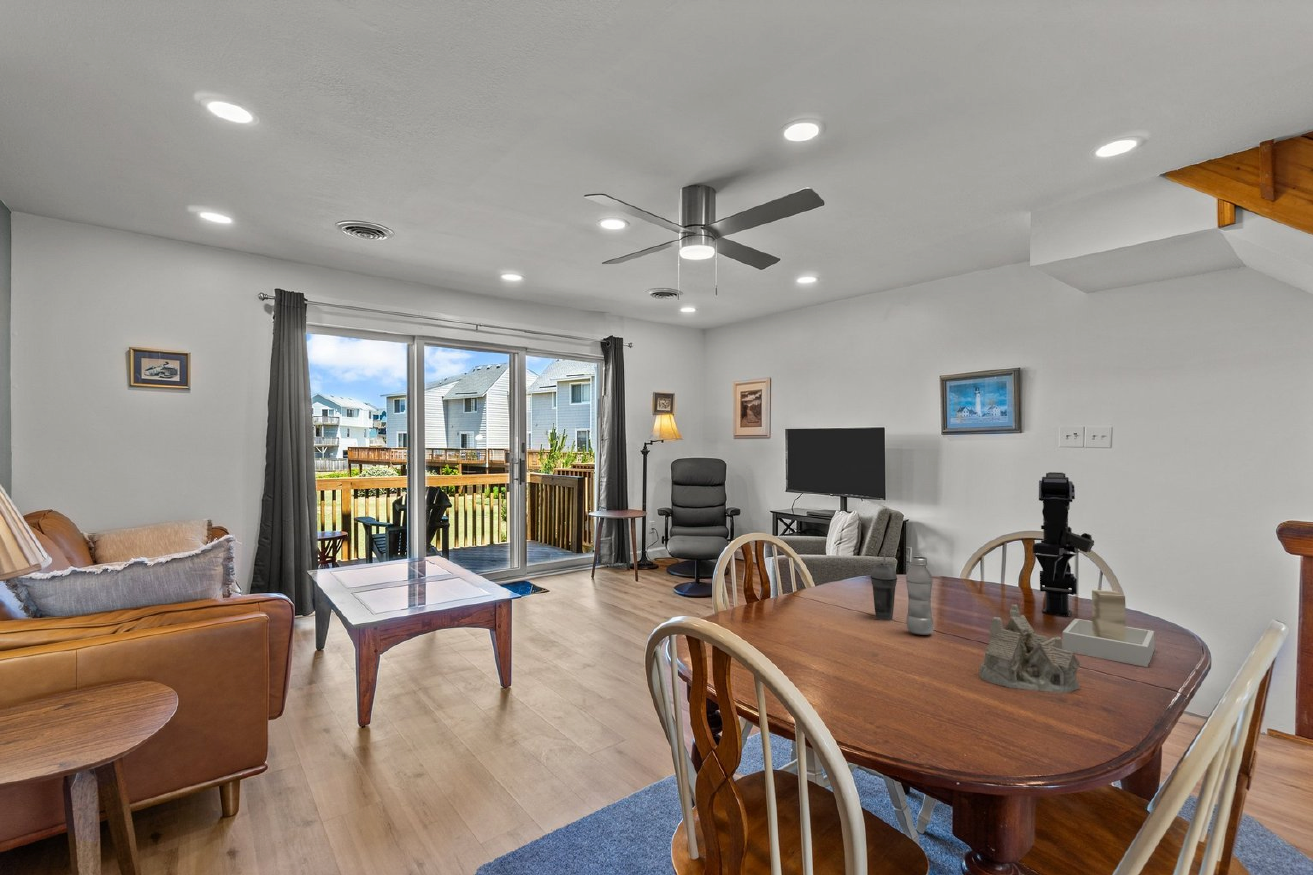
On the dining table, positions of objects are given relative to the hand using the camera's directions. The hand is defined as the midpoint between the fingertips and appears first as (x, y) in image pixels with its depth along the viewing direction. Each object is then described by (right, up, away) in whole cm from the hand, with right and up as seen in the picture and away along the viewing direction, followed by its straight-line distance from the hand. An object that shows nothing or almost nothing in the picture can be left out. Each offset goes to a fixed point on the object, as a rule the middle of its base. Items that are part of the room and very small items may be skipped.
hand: (1056, 579), depth 167 cm
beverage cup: (-44, -13, +8) cm, 47 cm away
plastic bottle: (-40, -13, -6) cm, 42 cm away
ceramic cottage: (-31, -13, -38) cm, 51 cm away
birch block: (0, -12, -19) cm, 23 cm away
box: (0, -13, -19) cm, 23 cm away
